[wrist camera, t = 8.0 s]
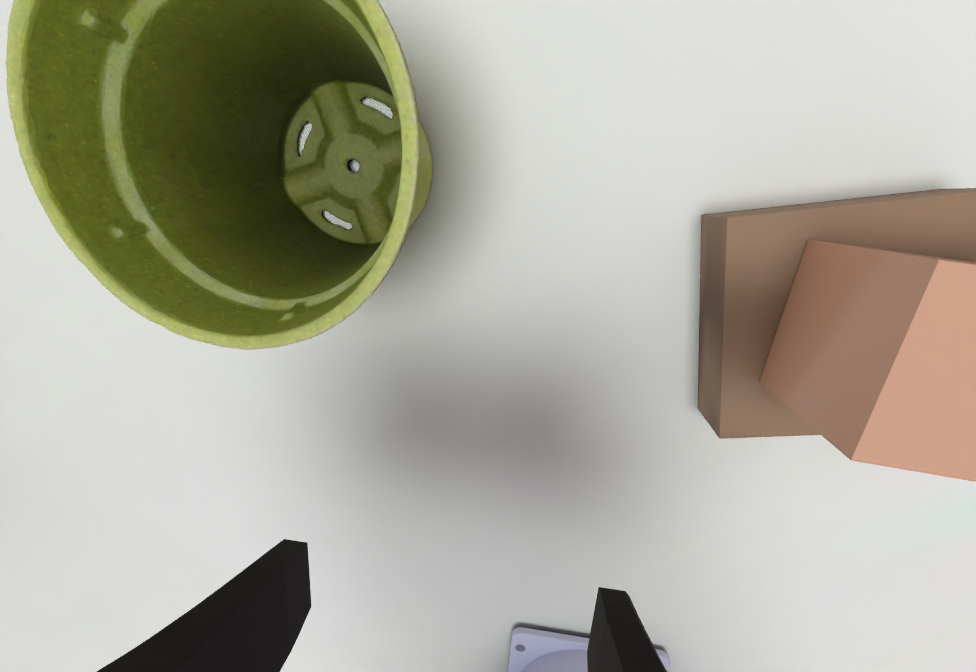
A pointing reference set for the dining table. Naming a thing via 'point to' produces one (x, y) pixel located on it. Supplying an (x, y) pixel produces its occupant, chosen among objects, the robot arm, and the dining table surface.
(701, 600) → the dining table surface
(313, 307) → the plant pot
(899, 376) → the terracotta cube
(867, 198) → the walnut block
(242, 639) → the robot arm
